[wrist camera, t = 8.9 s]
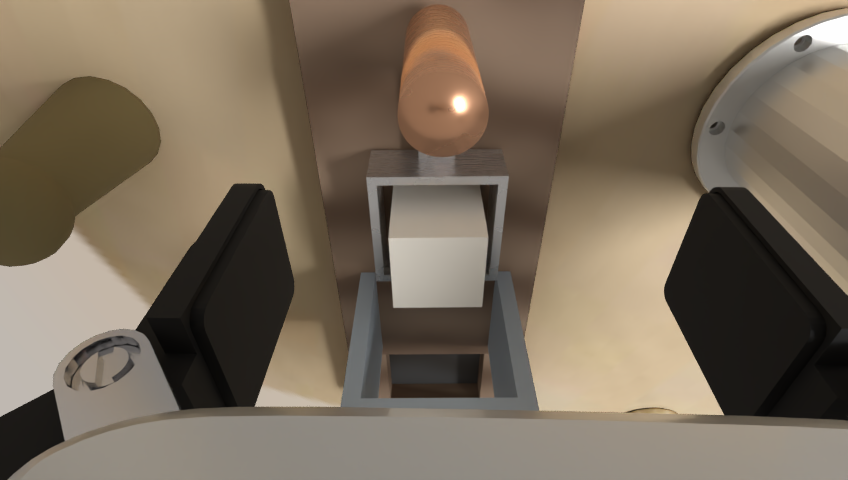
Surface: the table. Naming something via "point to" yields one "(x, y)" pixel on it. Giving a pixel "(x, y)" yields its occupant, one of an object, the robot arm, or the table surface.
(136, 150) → the cork
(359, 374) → the tunnel
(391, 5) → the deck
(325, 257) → the table surface
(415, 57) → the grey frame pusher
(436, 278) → the cream block
